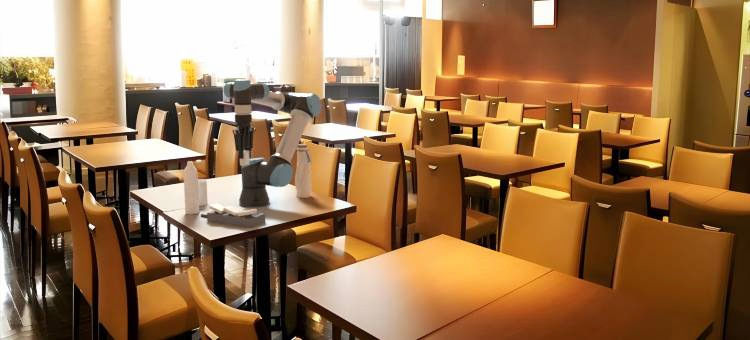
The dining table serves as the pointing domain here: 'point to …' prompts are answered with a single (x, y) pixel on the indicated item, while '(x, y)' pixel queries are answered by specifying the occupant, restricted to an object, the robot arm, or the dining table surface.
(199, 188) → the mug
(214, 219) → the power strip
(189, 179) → the water bottle
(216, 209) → the rocker
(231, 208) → the rocker
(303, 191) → the water bottle
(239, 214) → the rocker
